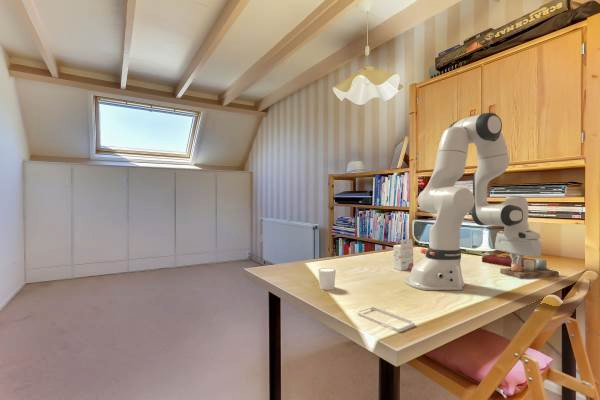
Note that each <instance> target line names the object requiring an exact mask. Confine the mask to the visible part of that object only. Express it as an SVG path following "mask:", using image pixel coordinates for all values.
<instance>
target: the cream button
mask: <svg viewBox="0 0 600 400" xmlns="http://www.w3.org/2000/svg"><path fill="white" fill-rule="evenodd" d="M524 270H525V271H534V261H533V260H524Z"/></svg>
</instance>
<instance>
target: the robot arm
mask: <svg viewBox="0 0 600 400" xmlns="http://www.w3.org/2000/svg"><path fill="white" fill-rule="evenodd" d="M502 123H503V122H502V119H501V118H500V116H499V115H497V114H496V113H494V112H484V113H481V114H476V115H472V116H467V117H465V118H462V119H460V120H456V121H455V122H453V123H451V124H450V125H449V126H448V127H447V128H446V129H445V130H444V131H443V132H442V135H441V136H440V137H441V138H440V141H439V144H438V148H437V153H436V157H435V158H436V159H435V163H434V168H433V171H432V173H431V176H430V179H429V181H428V183H427V185H426V186H425V188H424V189H423V190H422V191H421V192H420V193H419V195H418V196H417V204H418V206H419V208H420V209H421V210H422V211H424V212H426V213H429V214H437V215H436V219H435V222H434V223H433V224H432V225H431V226H430V228H429V230H428V231H429V233H428V234H429V236H428V237H429V239H428V240H429V241H428V242H429V246H428V248H426V249H425V248H423V247H422V248H421V254H423V255H425V257H423V258H422V259H421V260H420V261H418V262H417V263H416V264H415V265H413V267H412V269H410V270H411V271H410V277H406V278H405V279H404V283H406V284H407V285H408V286H410V287H413V288H414V289H418V290H423V291H462V290H463V287H465V285H466V284H465V282H464V279H463V274H462V266H461V259H462V250H461V248H460V247H461V244H460V243H461V242H460V241H461V235H460V234H461V228H462V225H463V221H464V220H465V217H466V216H467V214H469V213H470V212H471V218H472V220H473V222H474V223H476V224H477V225H478V226H494V227H495V226H496V227H503V229H504V230H499V231H497V233H496V237H495V242H494V249H495V250H496V251H498V252H504V253H509V256H510V257H511V259H512V263H514V264H518V265H520V264H521V260H522V259H523V258H525V257H527V258H528V257H529V258H540V257H541V256H542V243H541V241H540V239H541V233H538V232H537V231H534V230H532V229H530V228H529V227H530V226H529V223H528V222H529V221H528V219H529V203H528V200H527V198H526V197H523V196H519V195H517V196H516V195H509V196H506V197H505V200H504V201H502V202H500V203H489V201H488V185H489V183H490V182H491V181H492V180H494V179H495V178H497V177H500V176H502V175H503V174H504V173H505V172H506V171H507V169H508V168H509V165H510V157H509V152H508V146H507V143H506V140H505V138H504V135H503V133H502V128H503V124H502ZM469 144H474V145H475V147H476V157H477V167H476V168H477V169H475V171H474V173H473V176H472V177H473V178H472V191H471V190H470V189H469V188H466V187H461V186H456V183H457V182H458V180H460V178H462V177H463V176H464V174H465V171H466V169H465V168H466V164H467V158H468V152H469ZM524 256H525V257H524ZM516 257H518V258H517V259H516Z"/></svg>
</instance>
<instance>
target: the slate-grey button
mask: <svg viewBox="0 0 600 400" xmlns="http://www.w3.org/2000/svg"><path fill="white" fill-rule="evenodd" d="M535 260H536V270H541V271H547V269H548V267H547V266H548V265H547V262H548V261H547V259H543V258H536V259H535Z"/></svg>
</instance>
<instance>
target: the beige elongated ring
mask: <svg viewBox="0 0 600 400" xmlns="http://www.w3.org/2000/svg"><path fill="white" fill-rule="evenodd" d="M368 310H369V311H375V312H378V313H381V314H384V315H386V316H389V317H391V318H394V319H397V320H398V321H401V322H405V323H406V324H405V325H404V326H401V327H396V326H393V325H391V324H389V323H386V322H383V321H381V320H379V319H376V318H374V317H371V316H370V315H366V314H364V313H362V312H364V311H368ZM356 313H357V316H358V317H361V318H363V319H366V320H368V321H370V322H373V323H375V324H378V325H379V326H380V325H384V326H386V327H389V328H391V329H392V331H394V332H397V333H401V332H403V331H405V330H408V329H411V328H412V327H413V328H414V327H415V322H414V321H413V320H409V319H407V318H405V317H402V316H399V315H396V314H394V313H391V312H389V311H386V310H382V309H380V308H378V307H376V306H371V307H368V308H364V309H362V310H358V311H357V312H356ZM407 323H408V324H407Z"/></svg>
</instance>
